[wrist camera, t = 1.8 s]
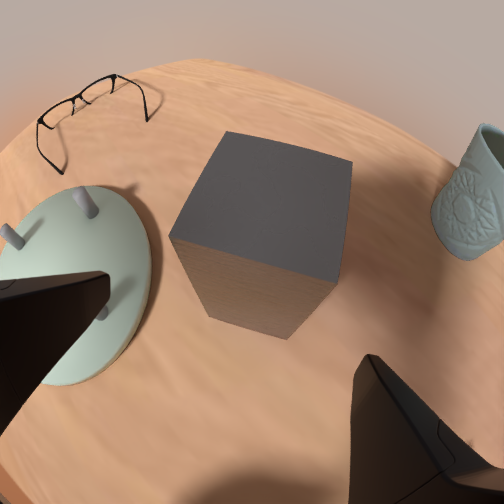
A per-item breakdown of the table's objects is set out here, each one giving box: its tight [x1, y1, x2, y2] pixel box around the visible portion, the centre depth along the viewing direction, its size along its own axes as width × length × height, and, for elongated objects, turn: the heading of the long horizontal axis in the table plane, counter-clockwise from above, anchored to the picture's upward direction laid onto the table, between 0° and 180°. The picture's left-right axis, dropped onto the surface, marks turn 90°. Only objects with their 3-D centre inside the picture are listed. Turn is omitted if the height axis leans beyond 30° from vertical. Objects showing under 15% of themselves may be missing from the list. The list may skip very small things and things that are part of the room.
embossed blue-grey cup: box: [431, 123, 504, 261], centre depth 19 cm, size 10×10×12 cm
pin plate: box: [0, 186, 152, 386], centre depth 19 cm, size 20×20×4 cm
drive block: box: [169, 131, 353, 340], centre depth 16 cm, size 6×6×12 cm
